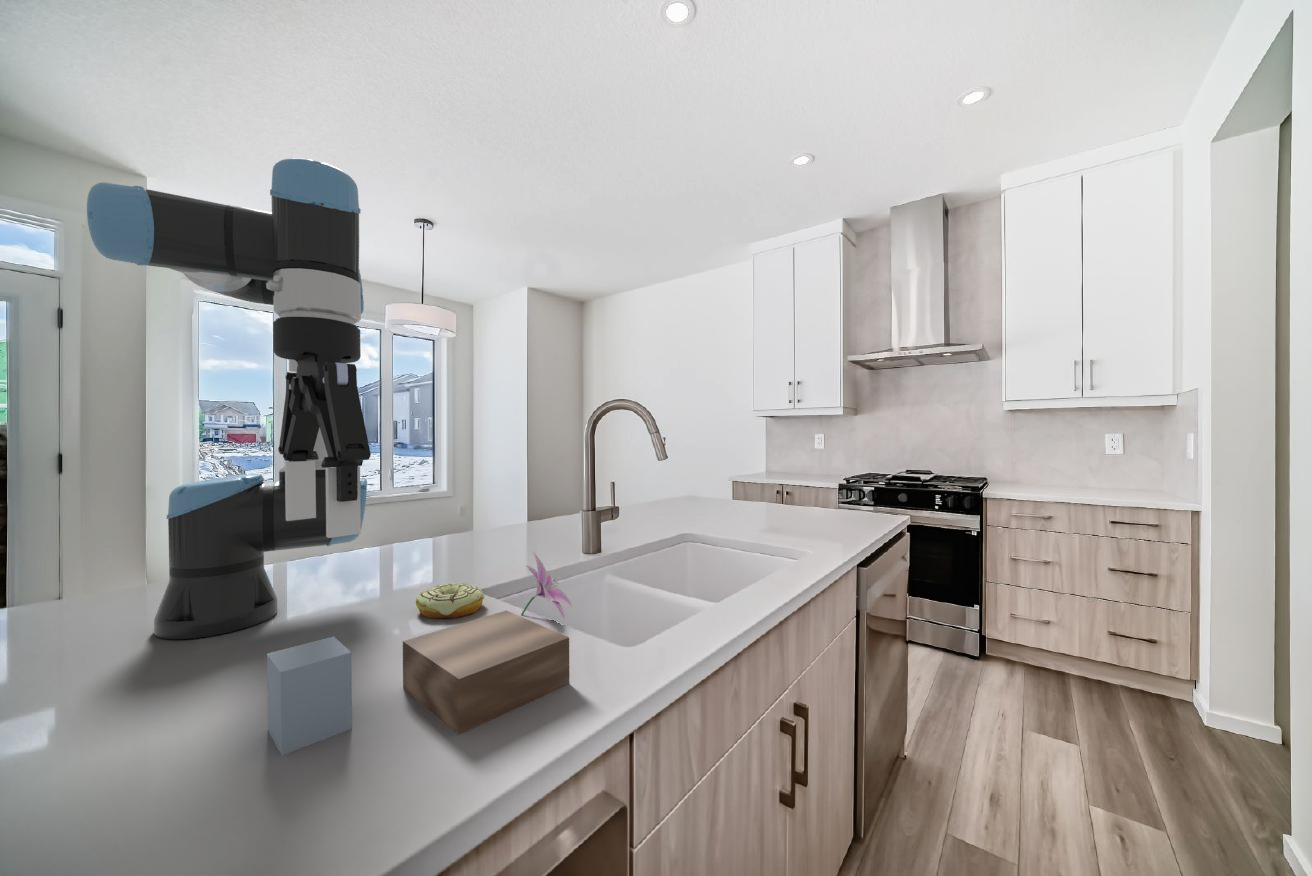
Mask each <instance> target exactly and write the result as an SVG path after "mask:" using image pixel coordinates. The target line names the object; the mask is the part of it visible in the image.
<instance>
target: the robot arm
mask: <svg viewBox="0 0 1312 876" xmlns="http://www.w3.org/2000/svg"><path fill="white" fill-rule="evenodd" d="M271 172H272V174H271V176H272V177H271V189H269V193H270V194H269V195H270V197H271V212H269V211H263V210H259V209H253V208H249V207H242V206H237V205H231V204H224V203H218V202H213V201H209V200H203V199H198V198H193V197H188V196H183V195H179V194H173V193H167V192H163V191H159V190H153V189H147V188H144V187H143V186H140V185H133V186H131V185H123V184H117V183H111V182H97V183H95V184H94V185H93V186H92V187H90V190H89V192H88V194H87V197H86V198H87V200H86V217H87V225H88V232H89V235H90V238H91V240H92V243H93V245H94V246H95V249H96V250H97V251H98V252H99V254H100V255H102V256H103V257H105V258H107V259H109V260H112V261H118V262H125V263H131V264H134V265H135V264H136V265H137V266H149V267H158V268H165V269H170V270H174V271H176V272H178V273H181V274H183V276H185V277H186V279H188V280H189V281H191V282H192V283H193V284H195V285H196V286H199V287H201V288H203V289H205V290H208V291H212V292H213V293H214V292H215V293H217V294H220V295H223V296H227V297H229V298H233V299H237V300H241V301H245V302H249V303H254V304H260V305H261V304H263V305H270V306H273V312H274V313H276V315H277V316H278V318H276V319H275V320H274V321H273V322H272V333H273V334H272V338H273V339H272V340H273V341H272V344H273V349H272V350H273V353H274V355H275V356H277V358H278V357H279V358H282V359H285V360H288V366H289V367H288V371H286V374H285V398H284V404H283V405H284V407H283V413H282V420H281V421H282V422H281V430H280V438H279V443H278V444H279V446H278V448H277V449H278V452H279V455H282V458H283V460H284V465H283V467H281V469H280V470H278V474H279V475H278V480H277V481H265V477H264V476H263V475H262V473H252V474H250V473H249V474H240V475H239V474H238V475H233V476H225V477H218V478H212V479H206V480H200V481H195V482H190V483H185V484H181V485H179V486H177V487H175V488H174V489H172V491H171V492H170V494H169V497H168V513H167V514H166V520H167V519H168V520H167V521H168V523H167V524H168V526H167V527H168V529H167V530H168V564H169V565H168V566H169V569H168V570H169V571H168V572H169V580H168V583H167V587H166V589H165V591H164V594H163V596H162V598H161V600H160V603H159V606H158V608H157V612H155V613H156V614H155V617H154V620H153V622H154V623H153V628H154V629H153V630H154V631H153V634H154V636H155V637H158V638H160V639H165V640H166V639H167V640H188V639H197V638H198V639H199V638H204V637H205V638H206V637H211V636H216V635H217V636H218V635H223V634H227V633H231V632H235V631H239V630H243V629H246V628H249V627H252V626H255V625H258V624H260V623H263V622H265V621H267V620H269V619H271V618H272V617H274V616H276V615H277V613H278V611H279V610H278V609H279V608H278V597H277V594H276V592H275V590H274V588H273V585H272V582H271V580H270V578H269V576H268V573H267V572H266V569H265V553H266V552H275V551H283V550H294V549H304V548H313V547H323V546H327V547H331V546H332V545H333V546H334V545H339V544H345V543H350V542H353V541H355V540H357V538H358V537H360V535H361V533H362V532H361V531H362V526H363V523H364V517H365V512H366V511H365V510H366V504H367V503H366V502H367V495H368V494H367V487H368V480H367V478H365V477H363V476H361V467H362V465H363V463H364V461H369V460H370V459H371V455H372V454H371V450H370V449H371V448H370V444H369V440H368V434H367V429H366V423H365V418H364V414H363V409H362V404H361V400H360V394H359V389H358V379H357V378H358V377H357V373H358V372H357V366H356V364H354V363H356V362H358V361H359V360H360V359H361V353H362V352H361V349H362V348H361V330H360V328H359V327H358V326H357V325H355V324H356V323H358V322H360V321H361V320H362V314H363V313H364V306H365V305H364V303H365V301H364V295H363V292H364V291H363V290H364V289H363V283H362V277H361V276H362V275H361V272H360V214H361V208H360V204H359V188H358V185H357V183H356V181H355V180H354V179H353V177H351V176H350V175H349V174H348V173H346V172H345V171H343V170H342V169H340V168H337V167H336V166H333V165H330V164H329V163H326V162H322V161H318V160H314V159H308V158H299V157H290V158H285V159H281V160H279V161H278V162H275V164H274V165H273V167H272V171H271Z"/></svg>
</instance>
